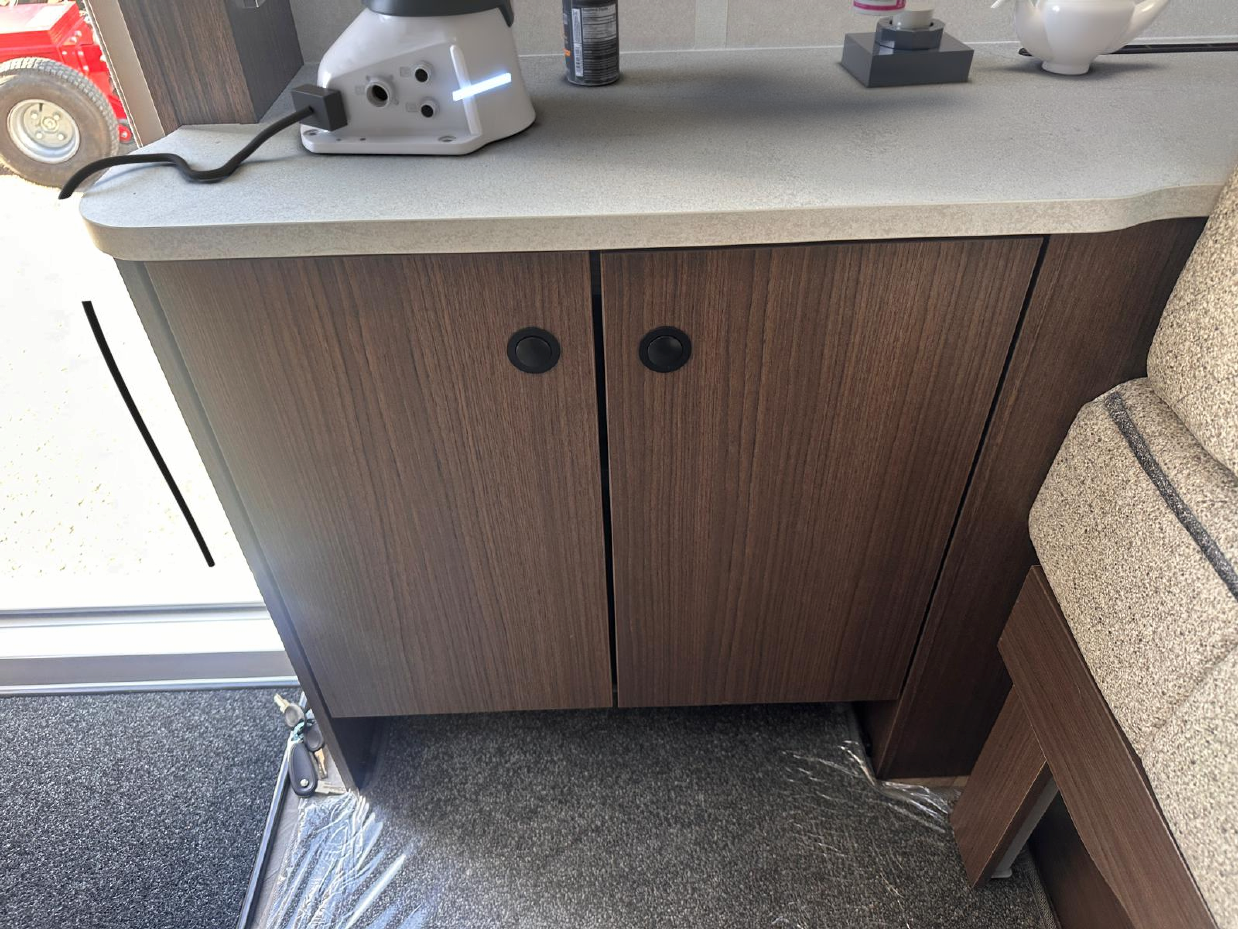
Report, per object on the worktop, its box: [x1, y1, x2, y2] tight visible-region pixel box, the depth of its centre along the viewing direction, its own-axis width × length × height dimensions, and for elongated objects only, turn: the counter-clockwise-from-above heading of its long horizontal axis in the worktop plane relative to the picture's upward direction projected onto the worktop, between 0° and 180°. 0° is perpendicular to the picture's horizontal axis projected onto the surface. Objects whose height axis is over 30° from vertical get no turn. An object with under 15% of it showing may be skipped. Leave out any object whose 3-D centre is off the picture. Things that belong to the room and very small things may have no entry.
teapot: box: [990, 0, 1173, 76], centre depth 89 cm, size 10×20×9 cm, turn 91°
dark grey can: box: [561, 0, 621, 86], centre depth 89 cm, size 6×6×11 cm
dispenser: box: [840, 16, 975, 88], centre depth 91 cm, size 11×9×5 cm
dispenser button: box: [892, 1, 935, 29], centre depth 89 cm, size 4×4×2 cm
